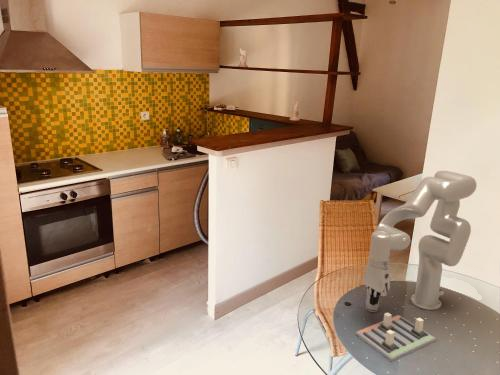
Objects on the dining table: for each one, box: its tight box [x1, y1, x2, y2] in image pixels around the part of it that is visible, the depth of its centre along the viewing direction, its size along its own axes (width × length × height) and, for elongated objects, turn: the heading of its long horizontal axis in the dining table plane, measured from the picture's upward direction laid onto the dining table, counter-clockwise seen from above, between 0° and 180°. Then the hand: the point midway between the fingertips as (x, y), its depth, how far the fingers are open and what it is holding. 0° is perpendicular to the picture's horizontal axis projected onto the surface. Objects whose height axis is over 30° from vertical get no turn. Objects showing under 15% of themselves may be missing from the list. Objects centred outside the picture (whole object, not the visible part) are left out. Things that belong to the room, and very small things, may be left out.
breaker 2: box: [382, 330, 396, 351], centre depth 149 cm, size 3×4×6 cm
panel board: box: [355, 314, 437, 362], centre depth 157 cm, size 24×18×2 cm
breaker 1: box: [380, 312, 393, 331], centre depth 160 cm, size 3×4×6 cm
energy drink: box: [365, 287, 381, 313], centre depth 175 cm, size 5×5×12 cm
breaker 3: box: [411, 317, 426, 337], centre depth 157 cm, size 3×4×6 cm
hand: (373, 303), depth 164 cm, fingers closed
